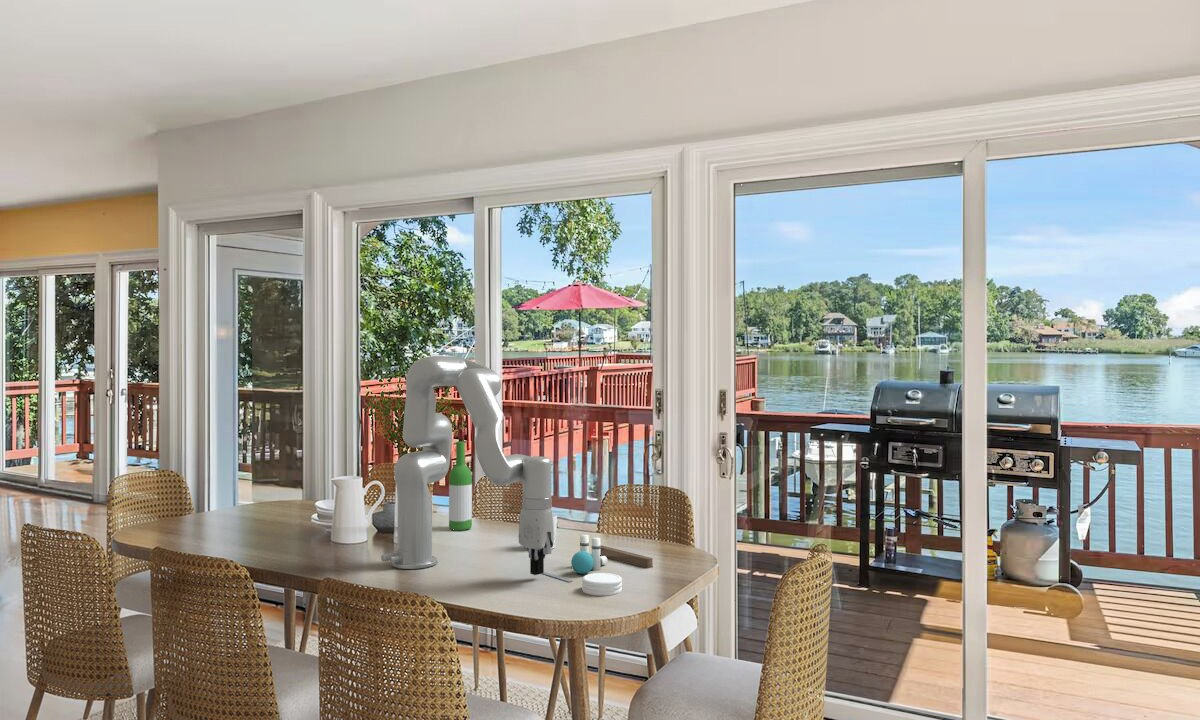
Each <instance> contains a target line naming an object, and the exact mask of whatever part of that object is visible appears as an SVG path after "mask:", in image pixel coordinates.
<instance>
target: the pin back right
mask: <svg viewBox="0 0 1200 720" xmlns="http://www.w3.org/2000/svg"><path fill="white" fill-rule="evenodd" d="M600 549H601V538H600V537H591V556H592V558H593V567H592V569H591V570H592V571H600V570H601V566H600V557H601V556H600Z"/></svg>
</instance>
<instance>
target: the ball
mask: <svg viewBox="0 0 1200 720" xmlns="http://www.w3.org/2000/svg"><path fill="white" fill-rule="evenodd" d="M592 567H593V558H592V554H591V553H590V552H589V553H588V552H586V551H580V550H579V551H576V552H575V553H574V555H573V556H572V558H571V568H572V569H573V571H575V572H576V573H577V574H581V575H585V574H587V573H589V572H591V570H592Z"/></svg>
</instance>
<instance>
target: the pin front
mask: <svg viewBox="0 0 1200 720" xmlns="http://www.w3.org/2000/svg"><path fill="white" fill-rule="evenodd" d="M607 564H608V558H607V557H606V556H600V567H602V566H605V565H607Z"/></svg>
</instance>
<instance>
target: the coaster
mask: <svg viewBox="0 0 1200 720" xmlns="http://www.w3.org/2000/svg"><path fill="white" fill-rule="evenodd" d="M581 580H582V581H581V582H582V583H581V585H582V587H581V590H582V592H583V593H584V594H587V595H590V596H598V597H599V596H601V597H604V596H606V597H607V596H614V595H618V594H619V593H621V592H622V591H623V578H622V576H621V575H618V574H615V573H611V572H610V573H609V572H595V573H594V572H593V573H589V574H586V575H585V574H584V576H582V579H581Z"/></svg>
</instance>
